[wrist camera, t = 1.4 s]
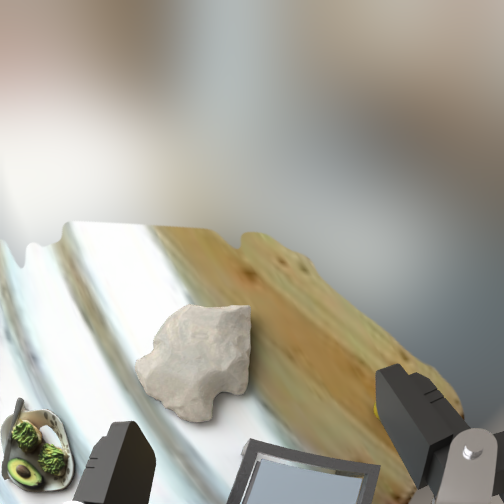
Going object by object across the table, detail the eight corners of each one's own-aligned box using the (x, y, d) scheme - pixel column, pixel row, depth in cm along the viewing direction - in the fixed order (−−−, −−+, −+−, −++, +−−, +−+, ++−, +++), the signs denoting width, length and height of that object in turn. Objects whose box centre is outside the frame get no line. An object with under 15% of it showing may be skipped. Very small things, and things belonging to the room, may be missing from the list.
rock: (117, 371, 50) (203, 267, 61) (129, 378, 56) (206, 284, 67) (207, 441, 45) (291, 322, 56) (210, 439, 51) (285, 334, 62)
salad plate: (-4, 403, 45) (-17, 396, 42) (63, 393, 50) (52, 387, 47) (10, 491, 34) (-3, 490, 31) (84, 489, 39) (74, 489, 36)
